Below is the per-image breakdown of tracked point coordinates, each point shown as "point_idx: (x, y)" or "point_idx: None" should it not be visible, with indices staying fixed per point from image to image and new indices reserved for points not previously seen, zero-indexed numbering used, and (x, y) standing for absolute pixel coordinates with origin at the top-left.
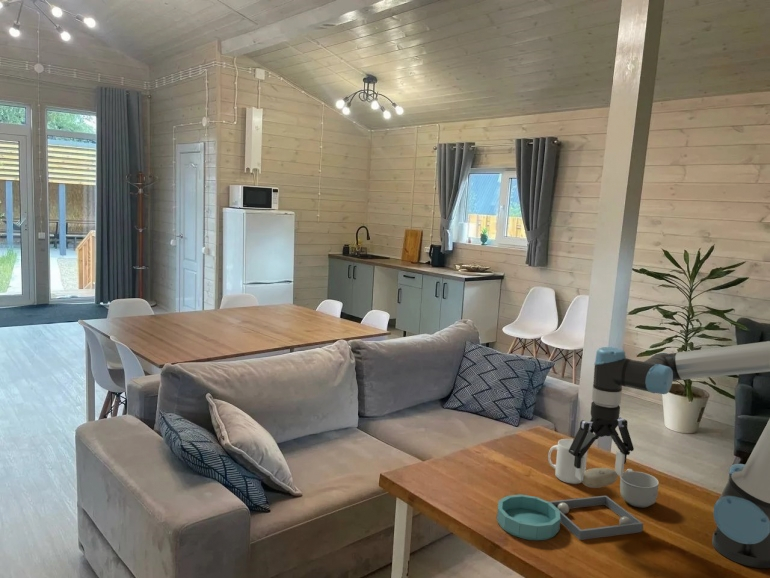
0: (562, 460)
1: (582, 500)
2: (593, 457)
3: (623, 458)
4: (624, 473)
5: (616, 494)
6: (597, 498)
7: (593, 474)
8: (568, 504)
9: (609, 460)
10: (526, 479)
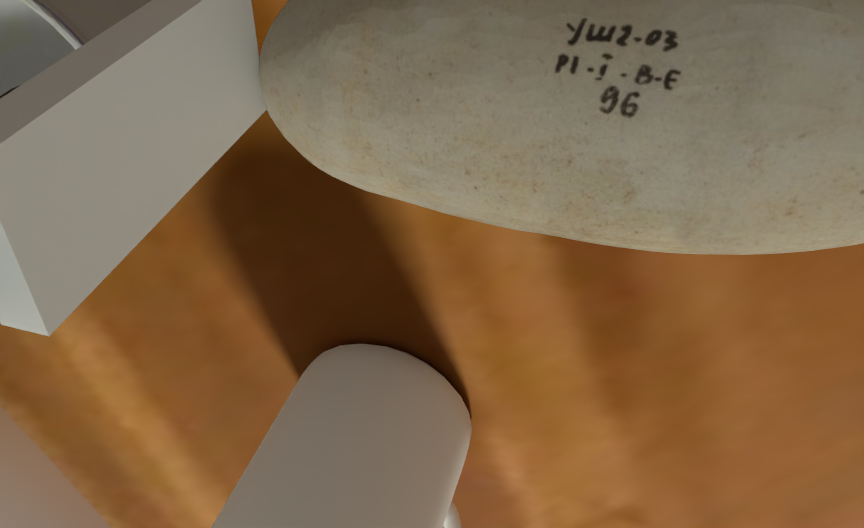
0: (430, 523)
1: None
2: (136, 466)
3: (16, 109)
4: None
5: None
6: None
7: (832, 71)
8: None
9: (69, 420)
10: (677, 495)
